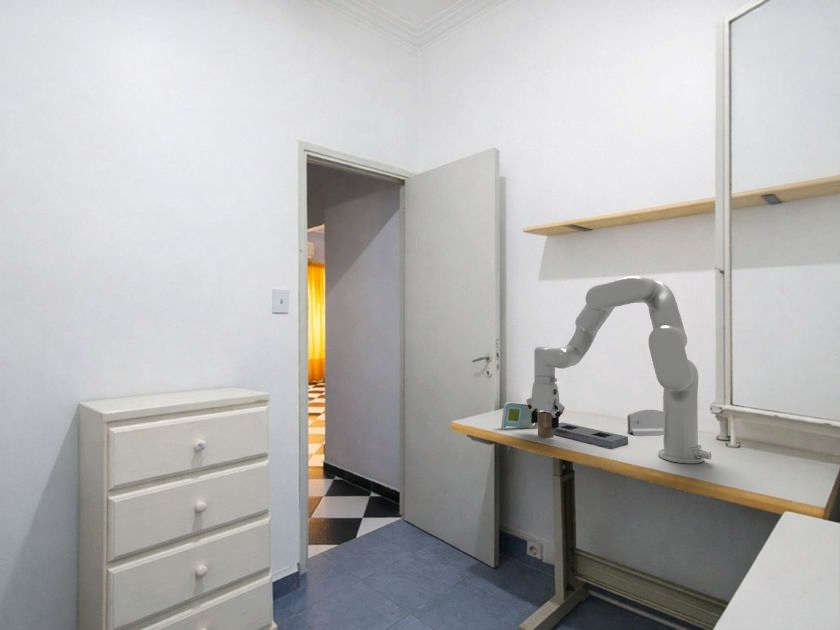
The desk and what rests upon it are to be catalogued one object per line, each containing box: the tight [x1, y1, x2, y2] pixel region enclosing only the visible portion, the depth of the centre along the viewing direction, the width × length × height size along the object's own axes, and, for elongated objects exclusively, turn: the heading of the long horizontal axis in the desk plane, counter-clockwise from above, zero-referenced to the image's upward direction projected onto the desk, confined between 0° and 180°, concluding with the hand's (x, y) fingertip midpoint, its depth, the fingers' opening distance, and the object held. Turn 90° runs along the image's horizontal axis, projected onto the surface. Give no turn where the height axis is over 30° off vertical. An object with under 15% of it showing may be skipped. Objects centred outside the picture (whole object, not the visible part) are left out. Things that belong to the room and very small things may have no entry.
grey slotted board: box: [553, 422, 629, 450], centre depth 174 cm, size 28×10×2 cm, turn 35°
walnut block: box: [537, 410, 554, 439], centre depth 177 cm, size 4×4×9 cm
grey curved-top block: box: [626, 409, 664, 437], centre depth 180 cm, size 17×5×10 cm, turn 90°
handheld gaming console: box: [500, 401, 541, 430], centre depth 190 cm, size 11×3×15 cm
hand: (544, 425), depth 177 cm, fingers open, 9 cm apart
